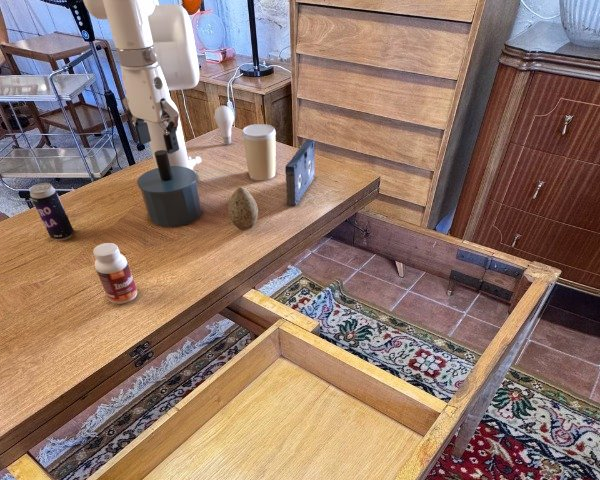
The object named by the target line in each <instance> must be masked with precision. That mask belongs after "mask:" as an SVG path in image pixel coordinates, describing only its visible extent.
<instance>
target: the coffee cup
mask: <svg viewBox="0 0 600 480" xmlns="http://www.w3.org/2000/svg"><path fill="white" fill-rule="evenodd" d="M276 135H277V132H276V129H275V127H274V126H272V125H270V124H268V123H267V124H266V123H254V124H249V125H246V126H245V127H244V128H243V129H242V132H241V137H242V139H243V140H242V141H243V147H244V154H245V158H246V165H247V170H248V176H249V178H251V179H252V180H255V181H267V180H271V179H272V178H274V177H275V176H276Z"/></svg>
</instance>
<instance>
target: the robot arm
mask: <svg viewBox="0 0 600 480" xmlns="http://www.w3.org/2000/svg"><path fill="white" fill-rule="evenodd" d="M82 1H83V4H84V6H85V8H86V10H87V11H88V13H89V14H90V15H91V16H92V17H94V18H96V19H98V20H107V22H108V25H109V29H110V32H111V36H112V40H113V43H114V47H115V51H116V55H117V58H118V62H119V65H120V72H121V78H122V83H123V89H124V92H125V97H124V98H123V99H122V104H123V106H124V108H125V110H126V113H127V115H128V116H129V118H130V119H131V124H132V125H133V126H134V129H135V133H136V137H137V141H138V145H141V146H142V145H143V146H144V145H146V144H149V149H150V152H151V156H152V159H153V164H154V169H156V168H158V166H157V162H156V158H155V154H154V153H155V152H156V151H159V150H165V151H167V153H168V158H169V162H170V166H181V167H186V168H189V169H192V170H193V171H194V172H195V173H196V175H197V172H196V170H194V168H195V166H198V165H199V164H201V163H202V157H201V156H199V155H196V156H194V157H193V158H192V157H191V156H188V152H187V147H186V141H185V137H184V132H183V127H182V121H181V118H180V112H179V109H178V107H177V105H176V104H175V102H174V101H173V100H172V98H171V96H170V91H180V90H189V89H193V88H195V87H197V86H198V84H199V83H200V82H199V81H200V66H199V59H198V54H197V53H198V52H197V49H196V42H195V36H194V28H193V24H192V21H191V18H190V15H189V13H188V11H187V9H186V8H185V7H183V6H182V5H180V4H174V3H170V4H169V3H168V4H160V3H159V0H82ZM197 176H198V175H197Z"/></svg>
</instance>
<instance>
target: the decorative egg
mask: <svg viewBox="0 0 600 480" xmlns="http://www.w3.org/2000/svg"><path fill="white" fill-rule="evenodd" d="M227 207H228V208H227V209H228V211H227V212H228V217H229V220H230V222H231V223H232V224H233V226H234V227H236V228H237V229H239V230H243V231H244V230H245V231H247V230H250V229H252V228H253V227H254V226H255V224H256V223H257V221H258V217H259V216H258V215H259V208H258V204H257V202H256V200H255V198H254V197H253V195H252V194H251V193H250V192H249V191H248V190H247V189H245V188H244V187H238V188H236V189H235V190H234V191H233V193H232V195H231V197H230V199H229V202H228V206H227Z"/></svg>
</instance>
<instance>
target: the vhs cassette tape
mask: <svg viewBox="0 0 600 480" xmlns="http://www.w3.org/2000/svg"><path fill="white" fill-rule="evenodd" d="M315 150H316V143H315V139H306V140H305V141H304V142H303V144H302V145H301V146H300V147H299V148H298V150H297V151H296V152H295V154H294V155H293V156H292V158H291V159H290V160H289V162H288V163H287V164H286V165H285V169H284V170H285V186H286V204H287V205H288V206H295V207H296V206H297V205H298V204H299V202H300V200H301V199H302V197H303V196H304V194H305V193H306V191H307V190H308V188H309V187H310V185H311V184H312V182H313V180H314V179H315V177H316V173H315V172H316V170H315V168H316V157H315V156H316V155H315V154H316V151H315Z"/></svg>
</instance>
